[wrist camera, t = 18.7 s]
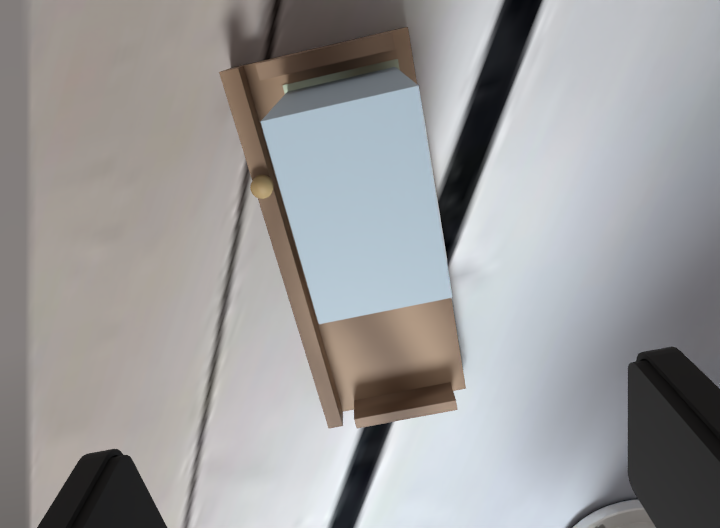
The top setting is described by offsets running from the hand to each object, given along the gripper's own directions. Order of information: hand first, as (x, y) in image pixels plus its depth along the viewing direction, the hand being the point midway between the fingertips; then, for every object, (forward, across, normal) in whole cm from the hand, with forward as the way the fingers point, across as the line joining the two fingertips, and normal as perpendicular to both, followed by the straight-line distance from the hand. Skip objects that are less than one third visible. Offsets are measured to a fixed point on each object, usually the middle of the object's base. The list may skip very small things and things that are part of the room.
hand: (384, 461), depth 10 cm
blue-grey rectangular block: (+23, 0, 0) cm, 23 cm away
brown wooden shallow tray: (+24, +1, +5) cm, 25 cm away
